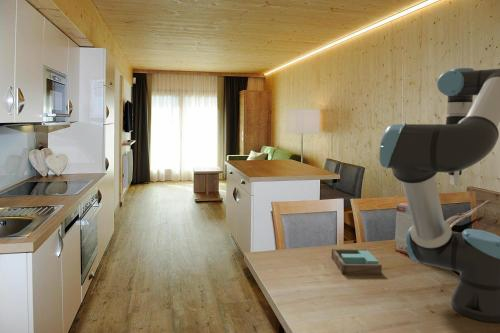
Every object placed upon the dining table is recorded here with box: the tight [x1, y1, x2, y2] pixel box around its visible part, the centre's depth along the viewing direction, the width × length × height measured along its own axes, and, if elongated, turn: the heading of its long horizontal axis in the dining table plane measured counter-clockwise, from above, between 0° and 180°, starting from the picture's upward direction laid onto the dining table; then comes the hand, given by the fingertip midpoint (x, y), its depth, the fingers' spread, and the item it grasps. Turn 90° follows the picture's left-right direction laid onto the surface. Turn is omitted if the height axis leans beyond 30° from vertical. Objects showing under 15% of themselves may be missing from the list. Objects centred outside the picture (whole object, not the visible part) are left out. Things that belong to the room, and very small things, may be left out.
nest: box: [331, 248, 382, 276], centre depth 151 cm, size 18×14×4 cm
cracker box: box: [394, 202, 413, 255], centre depth 164 cm, size 14×6×21 cm, turn 36°
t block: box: [341, 250, 379, 264], centre depth 151 cm, size 12×12×4 cm
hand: (454, 184), depth 134 cm, fingers closed
